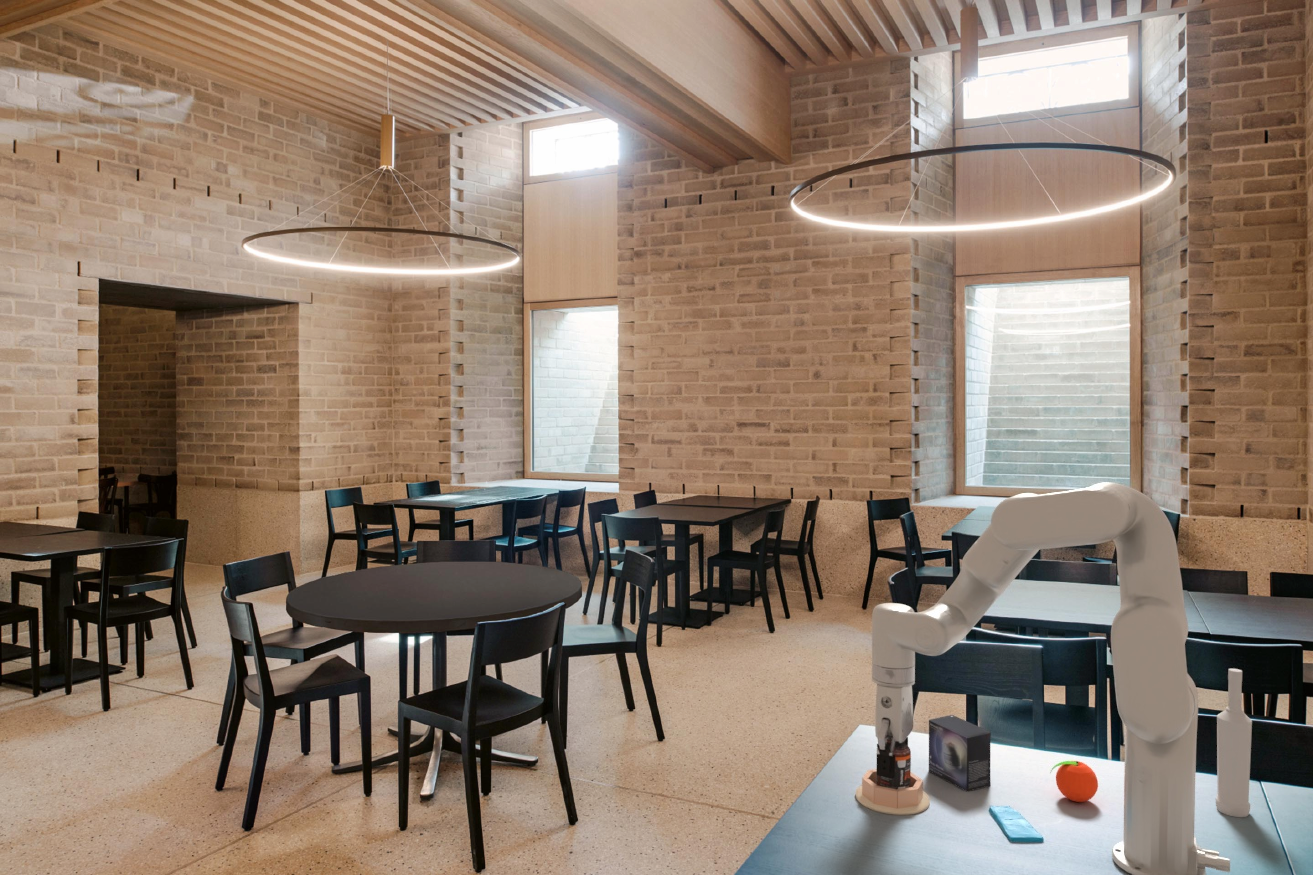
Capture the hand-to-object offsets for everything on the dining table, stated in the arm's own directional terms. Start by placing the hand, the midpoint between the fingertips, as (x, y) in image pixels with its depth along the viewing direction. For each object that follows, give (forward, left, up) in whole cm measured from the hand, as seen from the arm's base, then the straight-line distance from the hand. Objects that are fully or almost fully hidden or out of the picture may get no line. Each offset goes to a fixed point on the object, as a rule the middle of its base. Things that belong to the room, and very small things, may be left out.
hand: (892, 766), depth 163 cm
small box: (-9, -15, -6) cm, 19 cm away
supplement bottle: (0, 0, -5) cm, 6 cm away
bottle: (-54, -23, -6) cm, 59 cm away
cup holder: (0, 0, -6) cm, 6 cm away
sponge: (-21, +1, -6) cm, 22 cm away
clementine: (-29, -15, -6) cm, 33 cm away
